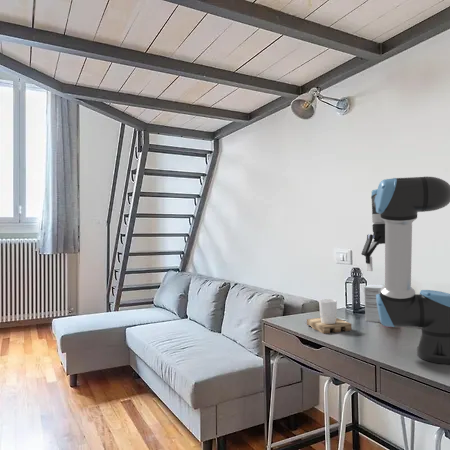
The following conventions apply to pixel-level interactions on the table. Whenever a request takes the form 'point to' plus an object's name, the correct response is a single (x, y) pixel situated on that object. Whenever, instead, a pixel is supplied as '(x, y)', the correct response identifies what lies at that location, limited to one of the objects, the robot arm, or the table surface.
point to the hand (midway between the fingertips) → (382, 270)
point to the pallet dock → (329, 325)
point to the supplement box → (371, 302)
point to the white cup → (328, 311)
